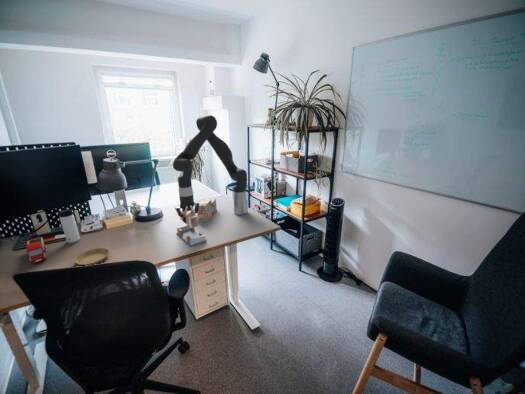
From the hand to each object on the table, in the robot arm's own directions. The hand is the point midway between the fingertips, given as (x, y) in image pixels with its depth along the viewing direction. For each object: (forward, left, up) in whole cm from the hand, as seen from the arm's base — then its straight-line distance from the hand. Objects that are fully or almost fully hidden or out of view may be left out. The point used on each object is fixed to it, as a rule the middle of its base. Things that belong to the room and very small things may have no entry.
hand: (189, 221), depth 144 cm
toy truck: (+70, -33, -11) cm, 78 cm away
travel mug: (+55, -40, -11) cm, 69 cm away
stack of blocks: (-23, -23, -11) cm, 34 cm away
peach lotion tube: (0, 0, -1) cm, 1 cm away
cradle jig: (0, 0, -11) cm, 11 cm away
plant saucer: (+49, -10, -11) cm, 51 cm away
